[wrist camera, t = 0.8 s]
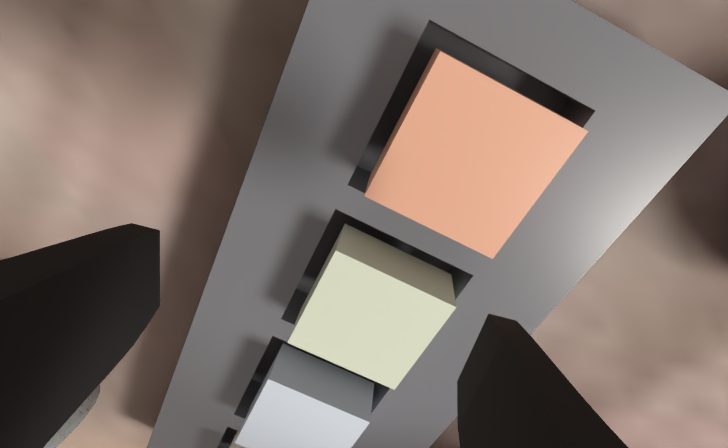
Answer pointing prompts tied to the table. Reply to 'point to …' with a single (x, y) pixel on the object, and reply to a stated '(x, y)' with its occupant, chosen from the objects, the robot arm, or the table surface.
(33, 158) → the table surface
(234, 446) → the key ivory
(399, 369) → the key sage
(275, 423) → the key bluegrey
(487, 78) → the key terracotta
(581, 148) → the keypad
